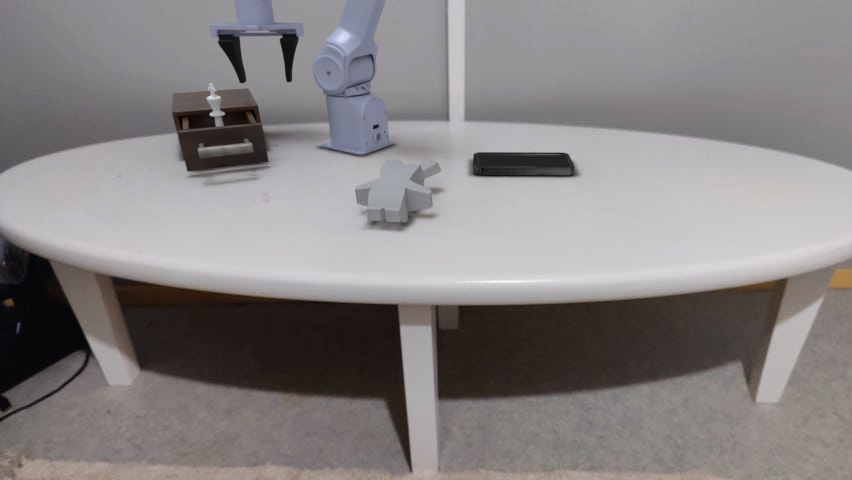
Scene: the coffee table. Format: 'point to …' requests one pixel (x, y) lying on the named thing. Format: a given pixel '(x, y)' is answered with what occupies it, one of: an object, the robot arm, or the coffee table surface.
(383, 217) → the grey figure-shaped block
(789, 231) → the coffee table surface
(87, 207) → the coffee table surface
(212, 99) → the chess piece
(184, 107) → the cabinet
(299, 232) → the coffee table surface
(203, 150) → the drawer
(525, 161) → the phone
